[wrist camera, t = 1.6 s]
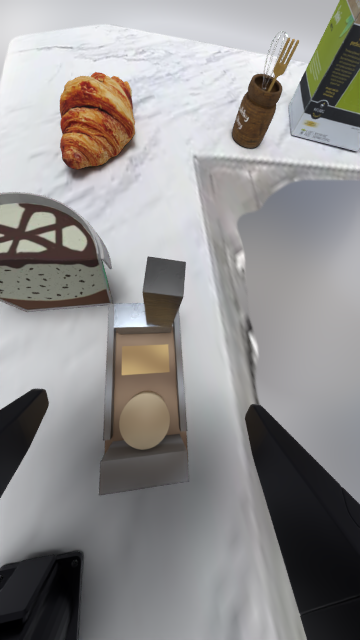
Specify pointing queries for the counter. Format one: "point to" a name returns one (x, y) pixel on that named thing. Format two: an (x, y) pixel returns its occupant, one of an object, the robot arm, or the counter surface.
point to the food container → (49, 256)
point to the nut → (144, 420)
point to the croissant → (95, 119)
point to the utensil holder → (260, 103)
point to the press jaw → (154, 300)
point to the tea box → (332, 84)
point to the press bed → (121, 386)
